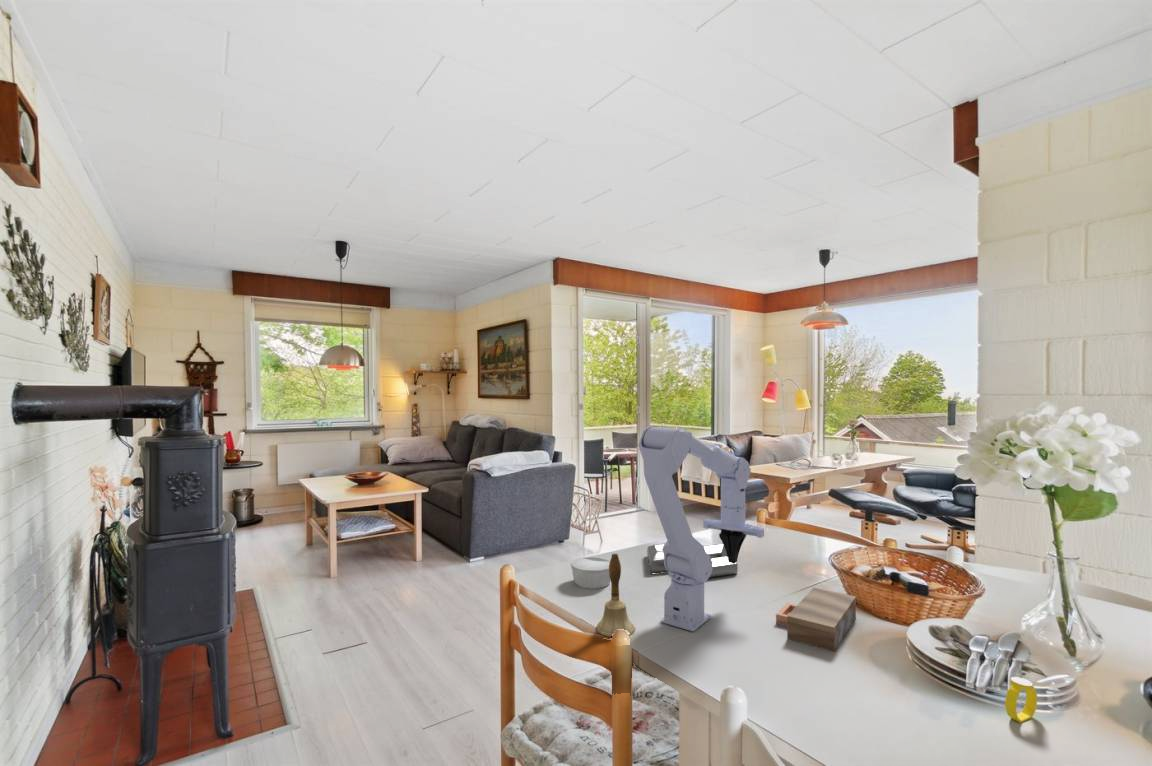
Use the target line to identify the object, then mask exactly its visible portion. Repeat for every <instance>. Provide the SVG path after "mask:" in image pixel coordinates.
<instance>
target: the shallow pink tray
mask: <svg viewBox="0 0 1152 766" xmlns="http://www.w3.org/2000/svg"><path fill="white" fill-rule="evenodd" d="M797 605H798V604H794V603H790V602H786V603H785V605H783V607H781V609H780V610H779V611H777V613H776V614H775V624H778V625H782V626H785V627H787V616H788V615H789V613H790V612H791V611H792V610H793V609H794V608H795V607H796V606H797Z"/></svg>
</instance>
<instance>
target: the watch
mask: <svg viewBox="0 0 1152 766" xmlns="http://www.w3.org/2000/svg"><path fill="white" fill-rule="evenodd" d="M1009 683H1010V684H1011V685H1010V686H1009V687H1008V689H1007V692H1006V694H1005V695H1006V696H1005V703H1004V704H1005V705H1004V707H1005V710H1006V714H1007V716H1008V717H1009V718H1011V719H1012V720H1014V721H1016V722H1018V723H1023V722H1025V721H1028V720H1030V719H1033V717H1034V714H1035V712H1036V709H1037V706H1038V705H1037V704H1038V696H1037V695H1038V694H1037V691H1036V689H1035V687H1034V685H1033V682H1031V681H1030V680H1028V679H1026V678H1023V677H1017V676H1011V677H1010V681H1009ZM1023 690H1024V691H1025V697H1026V699H1025V703H1026V705H1025V703H1024V706H1023V708H1022V710H1021V712H1018V713H1017V702H1018V699H1019V695H1020V694H1021V692H1022V691H1023Z"/></svg>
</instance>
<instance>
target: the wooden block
mask: <svg viewBox="0 0 1152 766" xmlns="http://www.w3.org/2000/svg"><path fill="white" fill-rule="evenodd" d="M796 605H797V606H796V607H795V608H794V609H793V610H792V611H791V612H790V613H789V615H788V616H787V626H786V629H787V631H786V634H787V637H786V639H787V638H788V639H787V640H792V641H794V640H795V641H794V642H798V643H801V644H805V645H809V646H812V647H816V648H820V649H823V650H826V651H827V650H828V651H831V652H836V649H837V648H838V646H839V645H840V643H841V642H842V640H843V638H845V635H846V634H847V632H848V631H849V629H850V627H851V626H852V624H853V623H854V621H855V619H856V618H857V597H856V596H854V595H851V594H845V593H840V592H838V591H837V592H836V591H831V590H827V589H823V588H817V587H812V589H811V590H810V591H809V592H808V593H807V594H806V595H805V596H804V597H803V598H802V599H801V601H800V602H799V603H798V604H796Z"/></svg>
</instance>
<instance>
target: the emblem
mask: <svg viewBox="0 0 1152 766" xmlns="http://www.w3.org/2000/svg"><path fill="white" fill-rule="evenodd" d="M664 544H665V543H657V544H652V545H648V546H647V550H646V555H647V561H648V567H649V570H650V571H649V572H650V574H651V573H660V574H662V573H661V572H668V573H669V571H667V570H666V568H665V566H664V554H663V551H662V548H663V546H664ZM703 546H704V548H705V551H706V553H707V554H708V555H709V556H710V557H711V559H712V564H713V569H712V573H711V575H710V577H709V578H708V579H710V578H714V577H715V578H716V577H723V576H728V575H729V576H730V575H736V574H738V567H739V566H738V561H737V562H736V563H734V564H733V563H729V561H728V557H727V553H726V550H725V547H724V545H723V543H719V544H709V545H703Z"/></svg>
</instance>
